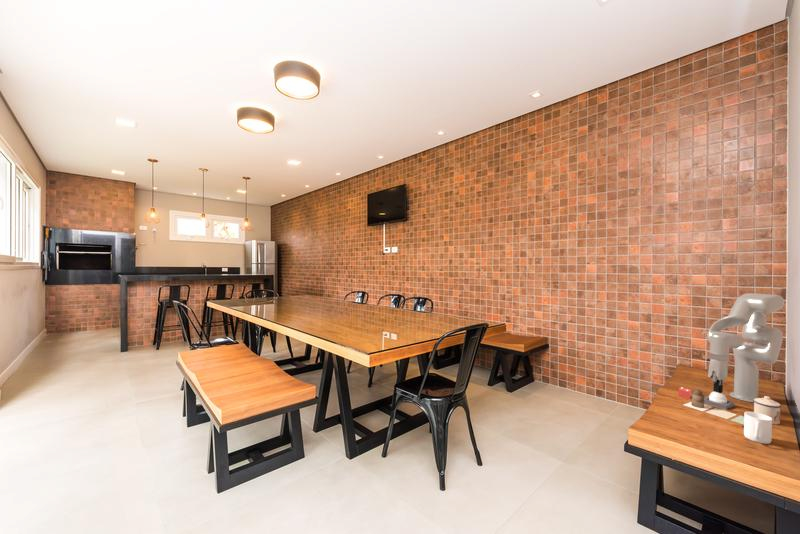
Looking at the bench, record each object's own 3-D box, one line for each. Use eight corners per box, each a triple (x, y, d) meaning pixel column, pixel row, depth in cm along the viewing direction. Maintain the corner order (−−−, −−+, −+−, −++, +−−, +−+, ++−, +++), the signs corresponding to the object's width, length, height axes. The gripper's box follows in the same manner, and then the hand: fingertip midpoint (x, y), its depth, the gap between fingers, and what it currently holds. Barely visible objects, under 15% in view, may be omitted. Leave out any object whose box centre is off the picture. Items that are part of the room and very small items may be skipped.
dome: (712, 401, 187) (713, 388, 186) (729, 406, 180) (729, 393, 180) (706, 403, 183) (706, 390, 183) (723, 408, 177) (723, 395, 177)
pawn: (694, 403, 182) (694, 387, 182) (706, 406, 178) (706, 390, 178) (689, 405, 180) (690, 388, 180) (701, 408, 176) (701, 392, 176)
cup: (771, 439, 148) (772, 416, 148) (771, 449, 140) (772, 425, 140) (744, 432, 154) (745, 409, 154) (742, 441, 146) (743, 417, 146)
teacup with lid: (780, 427, 159) (781, 402, 159) (752, 420, 166) (753, 396, 166) (781, 419, 167) (781, 395, 167) (754, 413, 174) (755, 390, 174)
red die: (679, 395, 195) (679, 386, 195) (690, 398, 192) (691, 388, 192) (678, 398, 192) (678, 388, 191) (690, 401, 188) (690, 390, 188)
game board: (691, 401, 187) (691, 399, 187) (768, 425, 160) (769, 423, 160) (678, 406, 181) (678, 404, 181) (757, 431, 154) (757, 429, 154)
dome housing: (710, 400, 189) (710, 395, 189) (734, 407, 180) (734, 402, 180) (701, 404, 184) (701, 398, 184) (725, 411, 175) (726, 405, 175)
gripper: (716, 354, 188) (715, 387, 188) (703, 357, 181) (702, 391, 182) (734, 357, 181) (733, 392, 182) (721, 360, 175) (720, 396, 175)
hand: (717, 391), depth 182 cm, fingers closed
